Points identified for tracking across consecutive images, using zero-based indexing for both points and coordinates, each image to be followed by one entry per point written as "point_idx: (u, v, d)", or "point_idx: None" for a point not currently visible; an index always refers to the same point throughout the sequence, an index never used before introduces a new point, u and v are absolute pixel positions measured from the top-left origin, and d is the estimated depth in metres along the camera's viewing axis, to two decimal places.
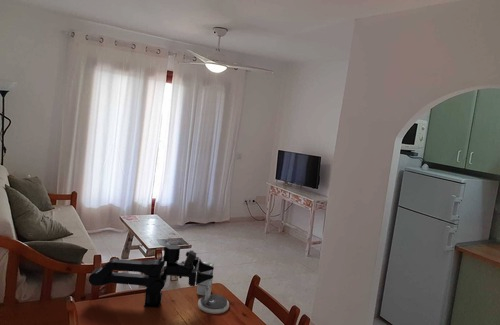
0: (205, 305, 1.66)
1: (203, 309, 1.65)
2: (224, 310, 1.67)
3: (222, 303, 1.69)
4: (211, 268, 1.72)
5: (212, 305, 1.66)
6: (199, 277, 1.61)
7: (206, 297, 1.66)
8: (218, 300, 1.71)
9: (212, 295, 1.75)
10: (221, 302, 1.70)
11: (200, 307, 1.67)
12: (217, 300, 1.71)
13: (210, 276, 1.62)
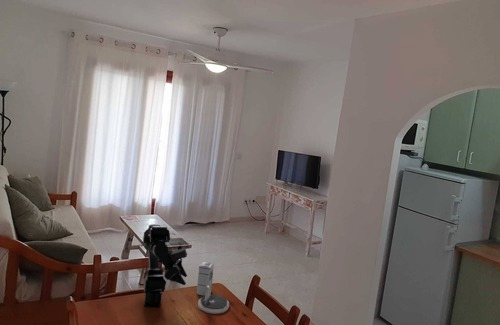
0: (205, 305, 1.66)
1: (203, 309, 1.65)
2: (224, 310, 1.67)
3: (222, 303, 1.69)
4: (184, 275, 1.68)
5: (212, 305, 1.66)
6: (175, 275, 1.58)
7: (206, 297, 1.66)
8: (218, 300, 1.71)
9: (212, 295, 1.75)
10: (221, 302, 1.70)
11: (200, 307, 1.67)
12: (217, 300, 1.71)
13: (183, 282, 1.59)
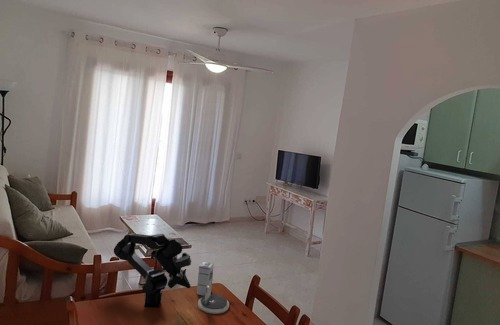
0: (205, 305, 1.66)
1: (203, 309, 1.65)
2: (224, 310, 1.67)
3: (222, 303, 1.69)
4: None
5: (212, 305, 1.66)
6: None
7: (206, 297, 1.66)
8: (218, 300, 1.71)
9: (212, 295, 1.75)
10: (221, 302, 1.70)
11: (200, 307, 1.67)
12: (217, 300, 1.71)
13: (188, 286, 1.64)
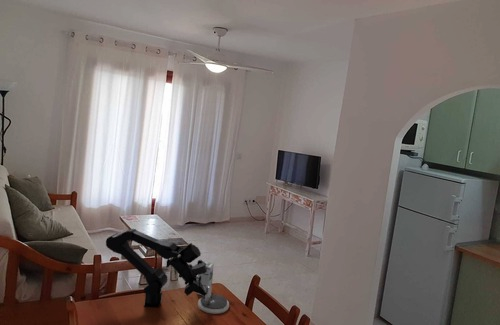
0: (206, 305, 1.66)
1: (203, 309, 1.65)
2: (224, 310, 1.67)
3: (222, 303, 1.69)
4: None
5: (213, 305, 1.66)
6: None
7: (207, 297, 1.65)
8: (218, 300, 1.71)
9: (211, 295, 1.75)
10: (221, 302, 1.70)
11: (200, 307, 1.67)
12: (217, 300, 1.71)
13: (203, 293, 1.65)
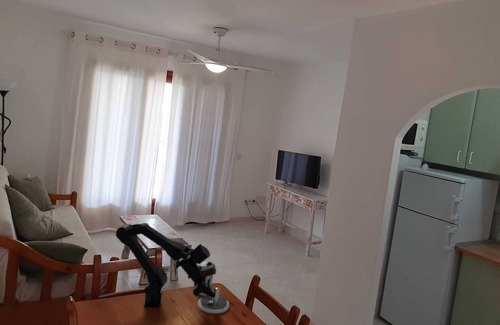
0: (215, 307, 1.65)
1: (203, 309, 1.65)
2: (224, 310, 1.67)
3: (223, 299, 1.72)
4: (212, 295, 1.64)
5: (220, 304, 1.67)
6: None
7: (216, 299, 1.65)
8: None
9: (205, 297, 1.73)
10: (221, 299, 1.73)
11: (200, 307, 1.67)
12: None
13: (212, 295, 1.64)
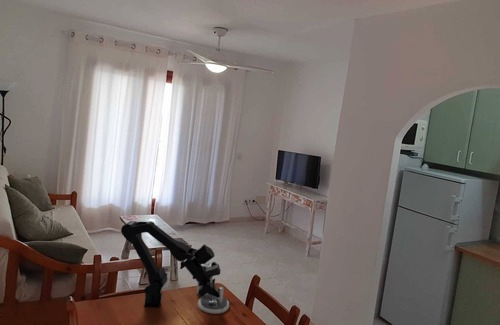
0: (220, 306, 1.66)
1: (203, 309, 1.65)
2: (224, 310, 1.67)
3: None
4: (217, 295, 1.64)
5: (223, 303, 1.69)
6: None
7: (221, 298, 1.66)
8: (215, 298, 1.73)
9: (203, 298, 1.71)
10: None
11: (200, 307, 1.67)
12: (215, 298, 1.72)
13: (217, 295, 1.64)
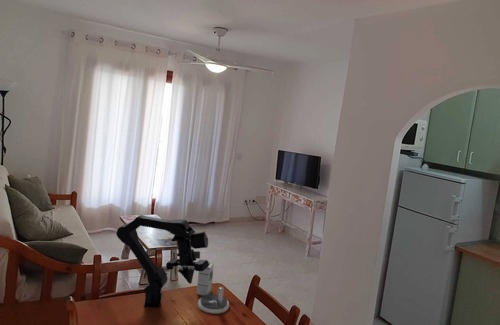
0: (220, 306, 1.66)
1: (203, 309, 1.65)
2: (224, 310, 1.67)
3: None
4: None
5: (223, 303, 1.69)
6: None
7: (221, 298, 1.66)
8: (215, 298, 1.73)
9: (203, 298, 1.71)
10: None
11: (200, 307, 1.67)
12: (215, 298, 1.72)
13: (191, 280, 1.65)
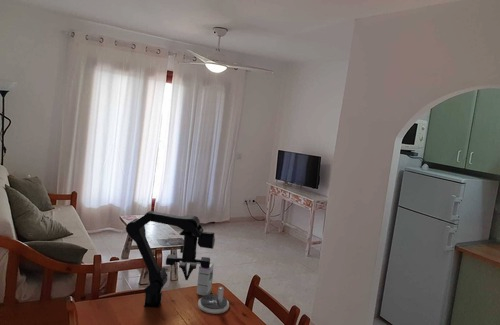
0: (220, 306, 1.66)
1: (203, 309, 1.65)
2: (224, 310, 1.67)
3: None
4: None
5: (223, 303, 1.69)
6: None
7: (221, 298, 1.66)
8: (215, 298, 1.73)
9: (203, 298, 1.71)
10: None
11: (200, 307, 1.67)
12: (215, 298, 1.72)
13: (188, 277, 1.65)
